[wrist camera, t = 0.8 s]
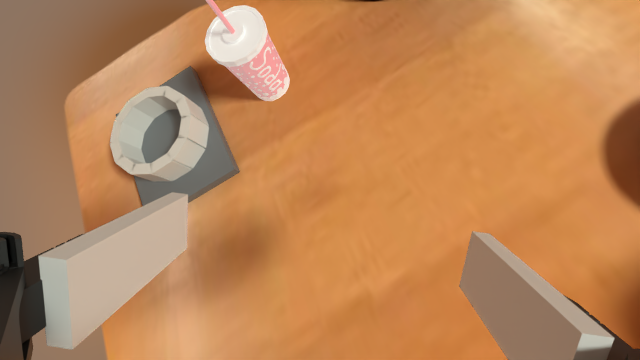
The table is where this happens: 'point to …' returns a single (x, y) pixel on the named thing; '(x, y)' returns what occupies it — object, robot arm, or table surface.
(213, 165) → the cup holder
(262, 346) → the table surface
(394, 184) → the table surface
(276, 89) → the beverage cup
